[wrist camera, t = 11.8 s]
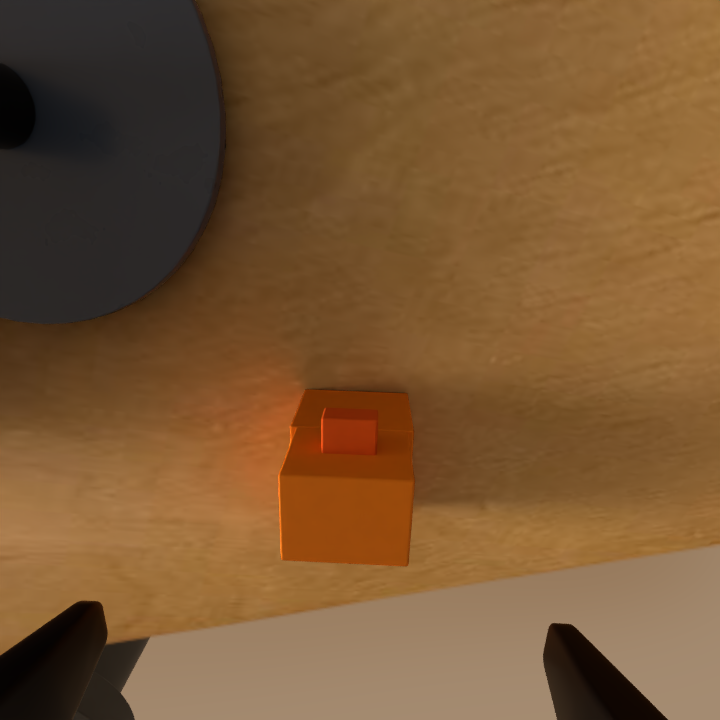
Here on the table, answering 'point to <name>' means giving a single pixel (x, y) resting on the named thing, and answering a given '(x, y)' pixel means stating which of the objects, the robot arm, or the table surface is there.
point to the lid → (103, 151)
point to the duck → (348, 479)
